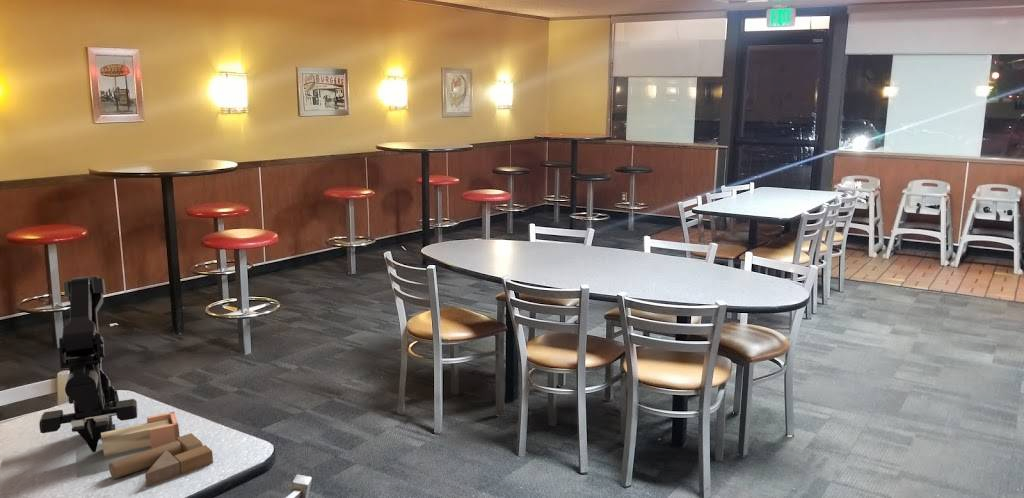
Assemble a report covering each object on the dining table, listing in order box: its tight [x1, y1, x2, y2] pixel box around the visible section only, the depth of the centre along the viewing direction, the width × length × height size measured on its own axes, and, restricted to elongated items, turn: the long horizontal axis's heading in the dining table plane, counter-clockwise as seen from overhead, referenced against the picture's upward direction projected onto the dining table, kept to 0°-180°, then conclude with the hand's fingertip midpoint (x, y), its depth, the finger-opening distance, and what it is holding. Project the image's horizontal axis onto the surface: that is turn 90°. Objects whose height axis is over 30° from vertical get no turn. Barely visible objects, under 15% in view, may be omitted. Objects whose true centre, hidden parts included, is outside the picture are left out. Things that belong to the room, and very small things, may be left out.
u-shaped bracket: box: [146, 411, 181, 449], centre depth 180 cm, size 8×6×5 cm
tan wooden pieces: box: [108, 432, 214, 488], centre depth 166 cm, size 4×11×18 cm
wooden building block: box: [100, 419, 169, 456], centre depth 178 cm, size 4×14×4 cm, turn 121°
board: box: [75, 443, 152, 478], centre depth 175 cm, size 15×21×1 cm
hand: (94, 451), depth 173 cm, fingers closed
